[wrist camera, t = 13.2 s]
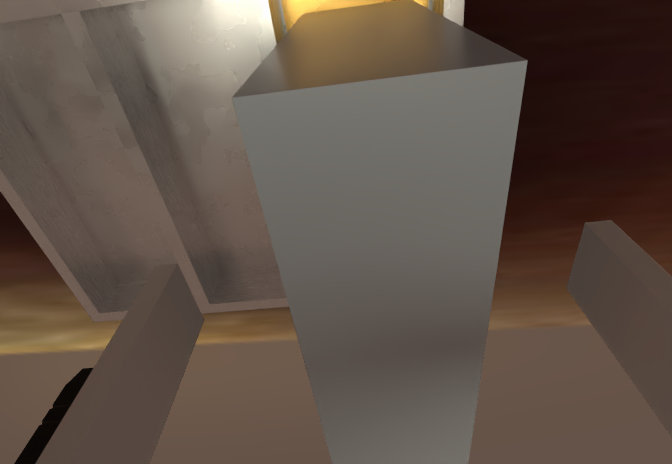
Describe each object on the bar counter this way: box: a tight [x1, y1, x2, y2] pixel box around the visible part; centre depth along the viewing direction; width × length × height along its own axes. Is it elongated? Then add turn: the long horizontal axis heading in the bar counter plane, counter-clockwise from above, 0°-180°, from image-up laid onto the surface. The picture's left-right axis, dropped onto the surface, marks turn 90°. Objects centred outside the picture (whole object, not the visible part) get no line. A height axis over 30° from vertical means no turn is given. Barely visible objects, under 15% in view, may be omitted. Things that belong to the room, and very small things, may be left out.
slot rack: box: [0, 0, 464, 322], centre depth 22 cm, size 24×19×4 cm
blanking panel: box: [232, 0, 528, 464], centre depth 16 cm, size 5×14×14 cm, turn 7°
